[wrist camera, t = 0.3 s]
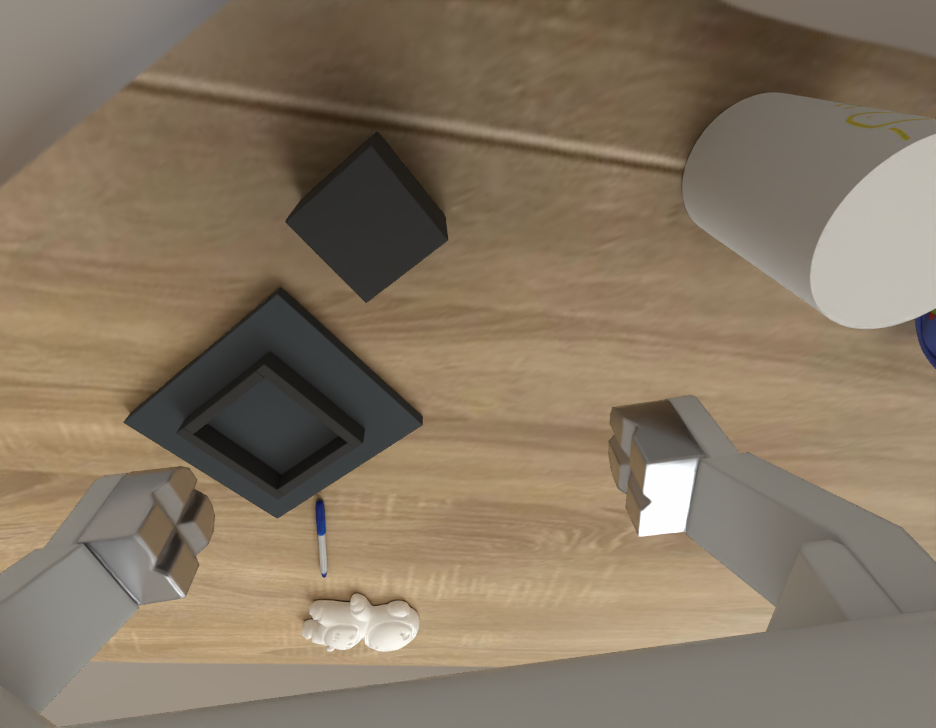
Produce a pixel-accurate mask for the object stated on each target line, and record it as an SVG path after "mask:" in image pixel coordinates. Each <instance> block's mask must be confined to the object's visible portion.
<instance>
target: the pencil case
mask: <svg viewBox="0 0 936 728" xmlns="http://www.w3.org/2000/svg"><path fill="white" fill-rule="evenodd" d="M915 322H916V331H917V336H918V340H919V343H920V346H921V349H922V351H923V353H924V354H925V356H926V358H927V359H928V361H929V362H930V363H931V364H932V366H933V367H934V368H935V369H936V308H935V309H934V310H932V311H930V312H928V313H926V314H924V315H921V316H919V317H917V318H915Z"/></svg>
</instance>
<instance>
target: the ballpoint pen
mask: <svg viewBox="0 0 936 728" xmlns="http://www.w3.org/2000/svg"><path fill="white" fill-rule="evenodd" d="M316 524H317V534H318V543H319V557H320V571H321V574H322V577H324V578H325V577H326V575H327V554H326V537H325V533H326V527H325V510H324V504H323V501H322V500H318V501H317V502H316Z"/></svg>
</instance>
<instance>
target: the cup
mask: <svg viewBox="0 0 936 728" xmlns="http://www.w3.org/2000/svg"><path fill="white" fill-rule="evenodd" d="M682 194H683V201H684V205H685V208H686V210H687V212H688V214H689V216H690V217H691V219H692V220H693V221H694V222H695V223H696V224H697V225H698V226H699V227H700V228H702V229H703V230H704V231H706V232H707V233H709V234H710V235H712V236H713V237H714V238H716V239H717V240H719V241H720V242H721V243H723V244H724V245H726V246H727V247H729V248H730V249H731V250H733V251H734V252H736V253H737V254H738V255H740V256H741V257H743V258H744V259H746V260H747V261H748V262H750V263H751V264H753V265H754V266H755V267H757V268H758V269H760V270H761V271H763V272H764V273H765V274H767V275H768V276H770V277H771V278H773V279H774V280H775V281H777V282H778V283H780V284H781V285H782V286H784V287H785V288H787V289H788V290H790V291H791V292H792V293H794V294H795V295H797V296H798V297H799V298H801V299H802V300H804V301H805V302H807V303H808V304H809V305H811V306H812V307H814V308H815V309H816V310H818V311H819V312H821V313H822V314H824V315H825V316H826V317H828V318H829V319H831V320H832V321H834V322H836V323H838V324H840V325H843V326H846V327H851V328H857V329H876V328H883V327H889V326H893V325H897V324H900V323H904V322H906V321H909V320H912V319H914V318H917V317H919V316H921V315H924V314H926V313H928V312H930V311H932V310H934V309H935V308H936V118H930V117H924V116H918V115H912V114H906V113H900V112H894V111H888V110H882V109H876V108H870V107H864V106H858V105H852V104H846V103H840V102H834V101H828V100H822V99H816V98H810V97H803V96H797V95H791V94H785V93H777V92H771V93H763V94H758V95H754V96H751V97H749V98H746V99H744V100H742V101H740V102H738V103H736V104H734V105H733V106H731V107H729V108H728V109H727V110H725V111H724V112H723V113H721V114H720V115H719V116H718V117H717V118H716V119H714V121H713V122H712V123H711V124H710V125H709V126H708V127H707V128H706V129H705V130H704V132H703V133H702V134H701V136H700V137H699V139H698V140H697V142H696V143H695V145H694V147H693V149H692V151H691V153H690V155H689V157H688V160H687V163H686V166H685V170H684V174H683V182H682Z"/></svg>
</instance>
